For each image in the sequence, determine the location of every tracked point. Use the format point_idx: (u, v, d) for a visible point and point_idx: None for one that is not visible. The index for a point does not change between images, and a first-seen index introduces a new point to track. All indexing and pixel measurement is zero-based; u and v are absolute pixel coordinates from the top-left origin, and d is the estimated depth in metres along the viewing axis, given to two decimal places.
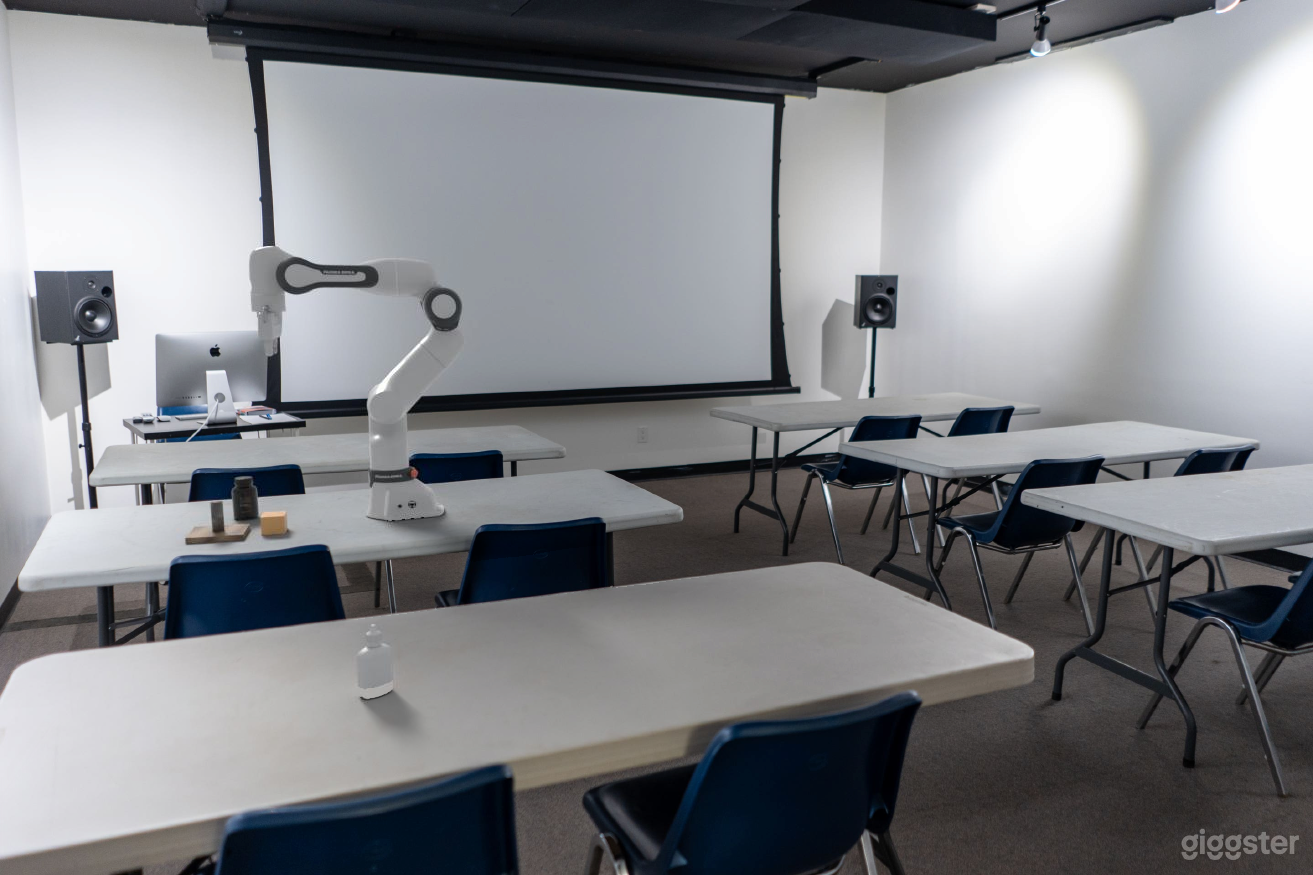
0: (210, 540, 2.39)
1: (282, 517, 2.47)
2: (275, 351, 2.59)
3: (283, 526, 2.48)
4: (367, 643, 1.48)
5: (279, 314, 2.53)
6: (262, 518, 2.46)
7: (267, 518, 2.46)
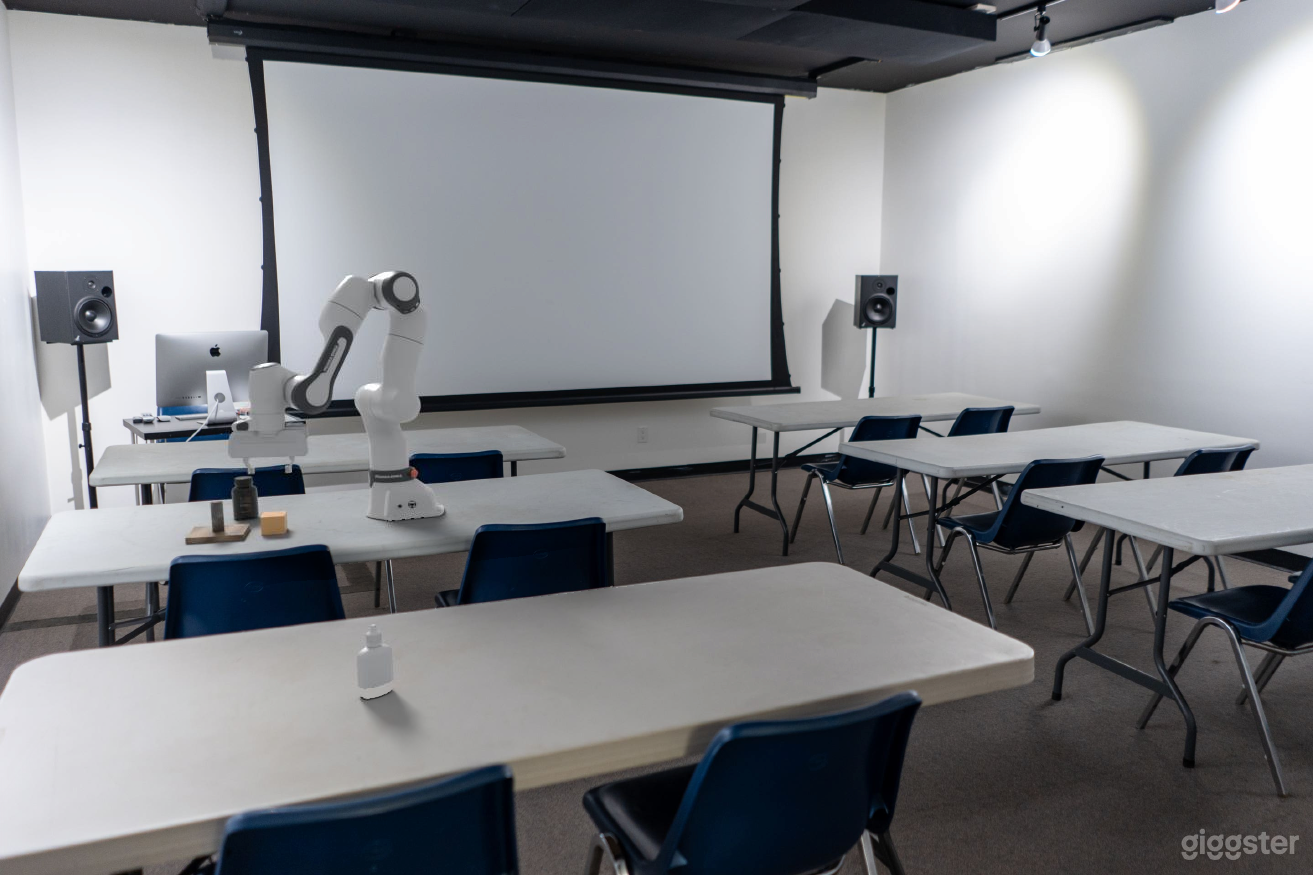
0: (210, 540, 2.39)
1: (282, 517, 2.47)
2: (254, 470, 2.47)
3: (283, 526, 2.48)
4: (367, 643, 1.48)
5: None
6: (262, 518, 2.46)
7: (267, 518, 2.46)
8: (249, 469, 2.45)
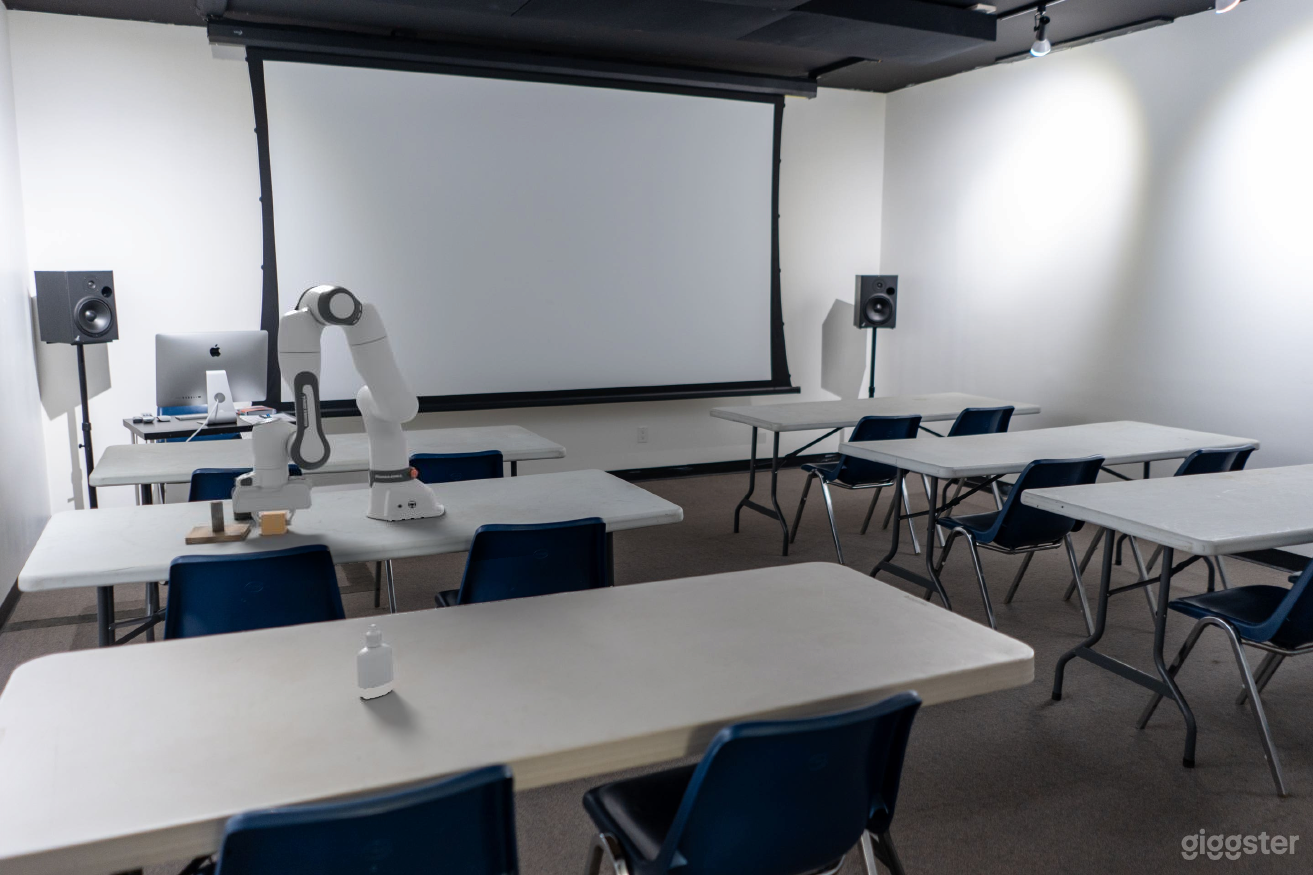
0: (210, 540, 2.39)
1: (282, 517, 2.47)
2: None
3: (283, 526, 2.48)
4: (367, 643, 1.48)
5: None
6: (262, 518, 2.46)
7: (267, 518, 2.46)
8: (258, 523, 2.48)
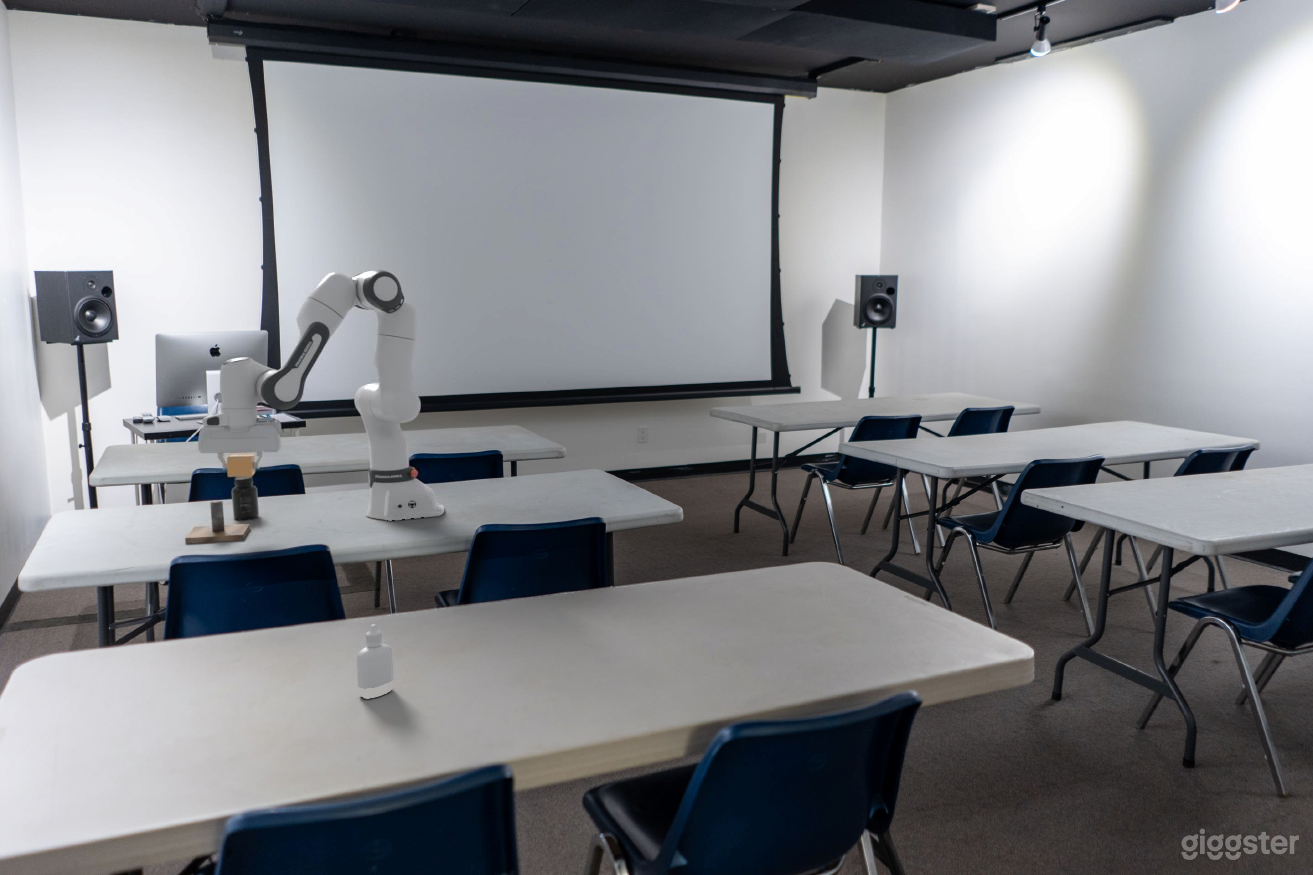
0: (210, 540, 2.39)
1: (249, 459, 2.42)
2: None
3: (250, 468, 2.43)
4: (367, 643, 1.48)
5: None
6: (229, 459, 2.41)
7: (234, 459, 2.41)
8: (224, 464, 2.43)
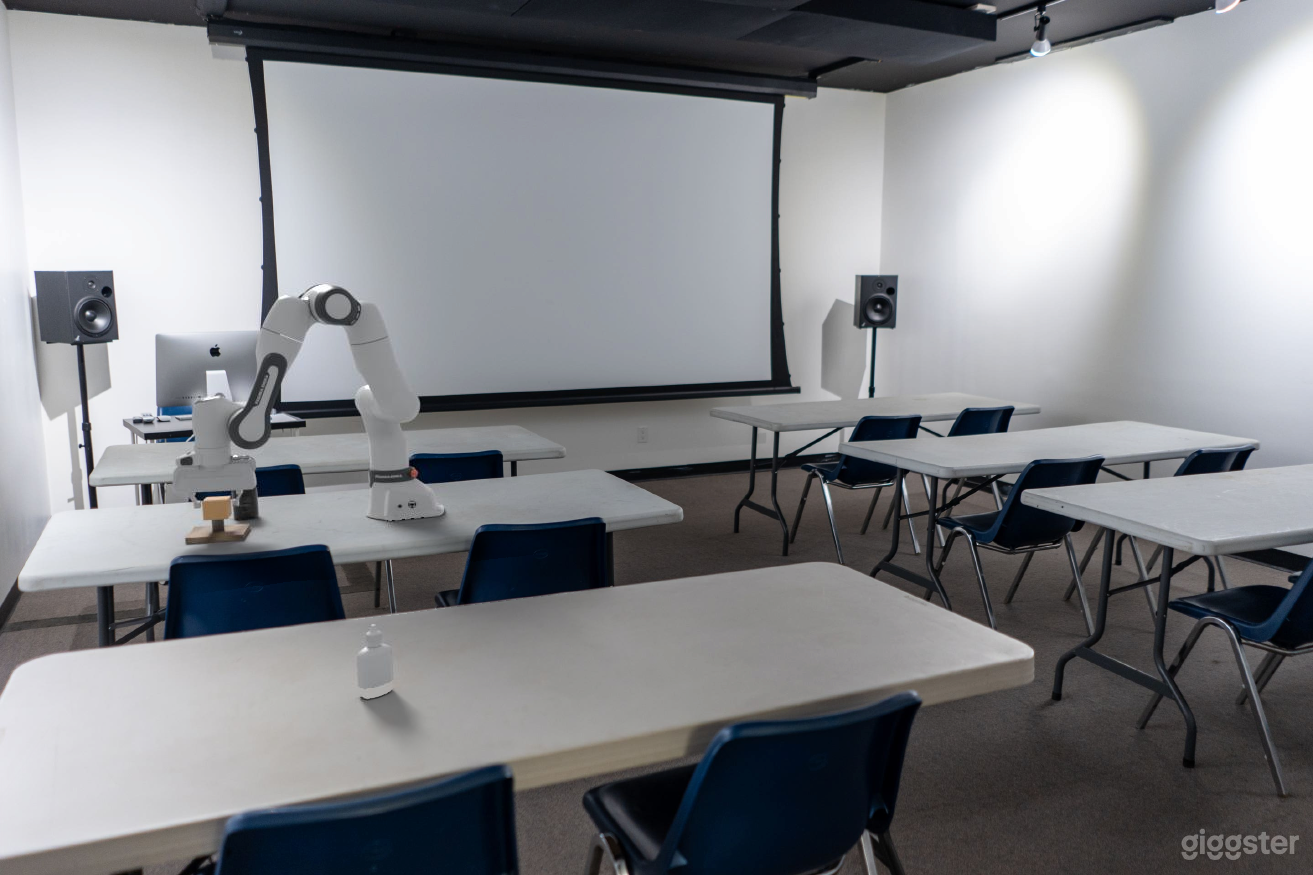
0: (210, 540, 2.39)
1: (224, 502, 2.42)
2: (200, 504, 2.44)
3: (226, 511, 2.42)
4: (367, 643, 1.48)
5: None
6: (204, 503, 2.40)
7: (209, 503, 2.41)
8: (195, 503, 2.42)
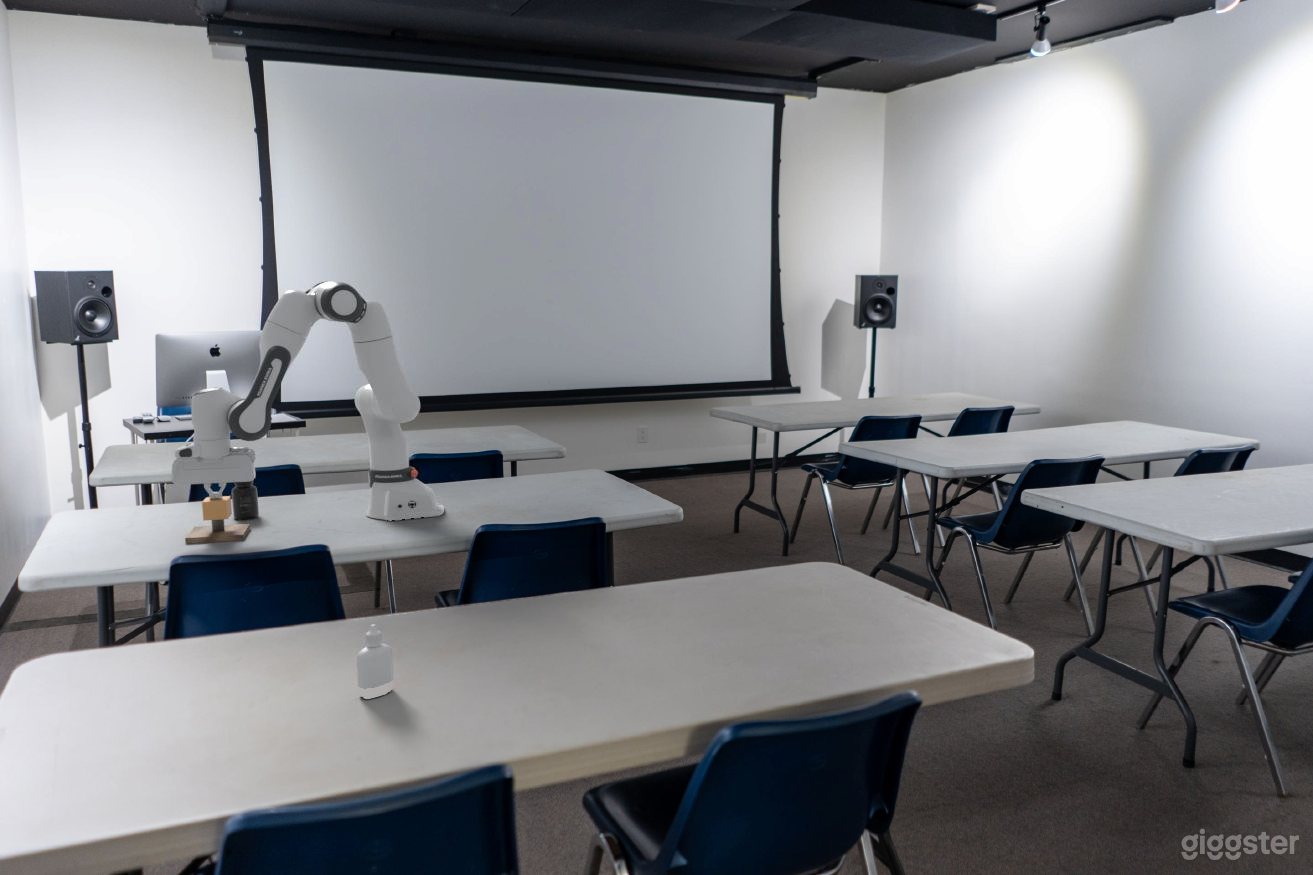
0: (210, 540, 2.39)
1: (224, 502, 2.42)
2: None
3: (226, 511, 2.42)
4: (367, 643, 1.48)
5: None
6: (204, 503, 2.40)
7: (209, 503, 2.41)
8: (210, 495, 2.43)
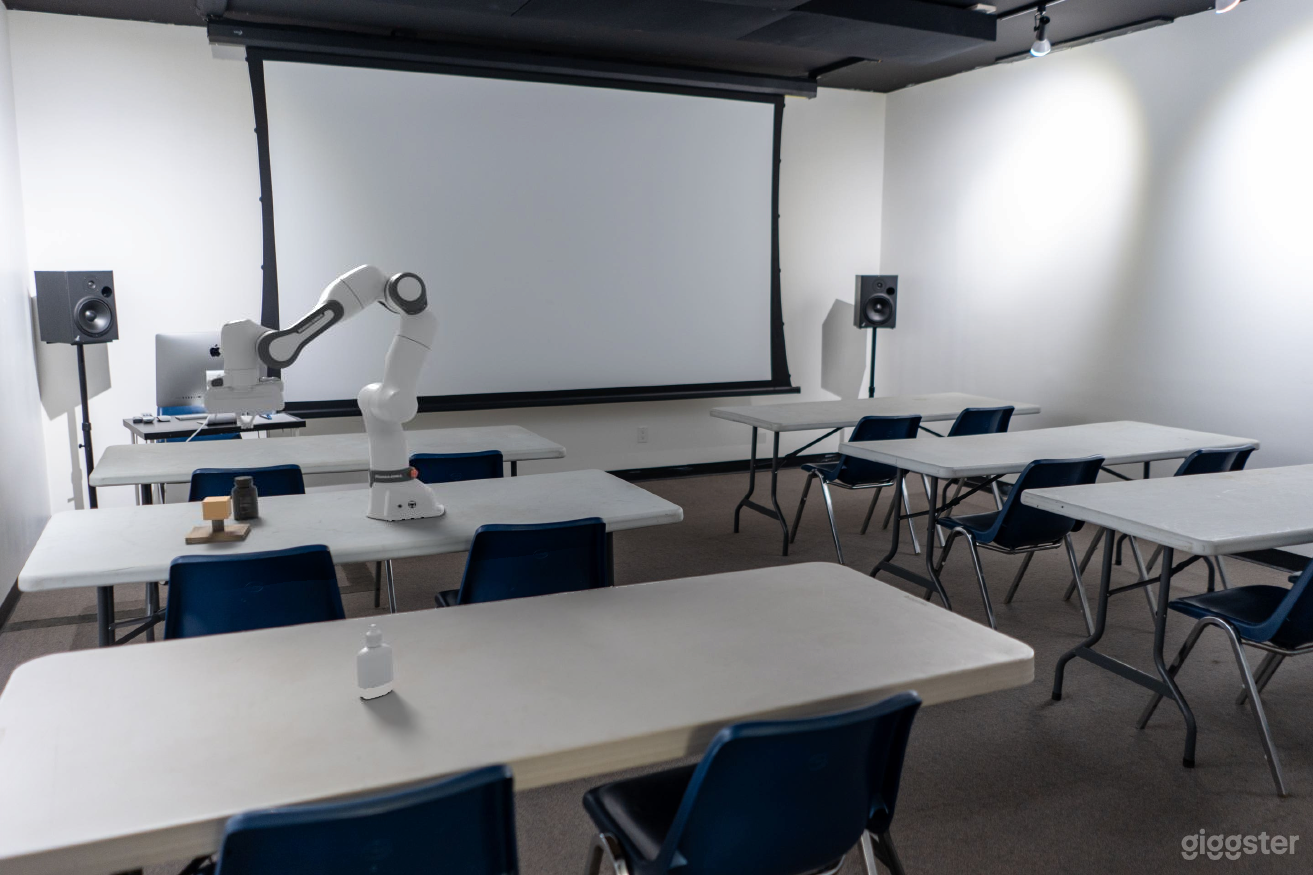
0: (210, 540, 2.39)
1: (224, 502, 2.42)
2: None
3: (226, 511, 2.42)
4: (367, 643, 1.48)
5: None
6: (204, 503, 2.40)
7: (209, 503, 2.41)
8: (242, 424, 2.51)
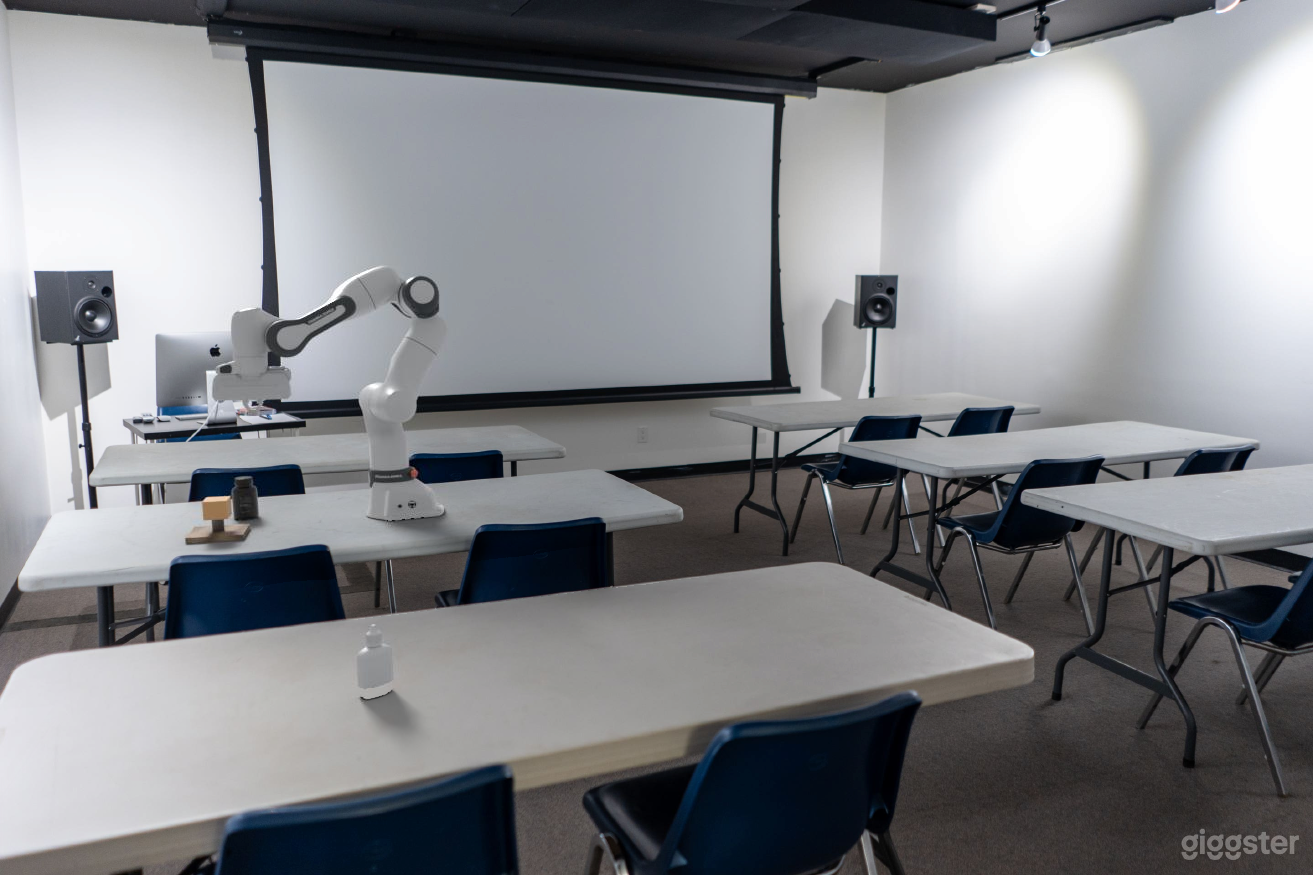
0: (210, 540, 2.39)
1: (224, 502, 2.42)
2: None
3: (226, 511, 2.42)
4: (367, 643, 1.48)
5: None
6: (204, 503, 2.40)
7: (209, 503, 2.41)
8: (249, 411, 2.53)
